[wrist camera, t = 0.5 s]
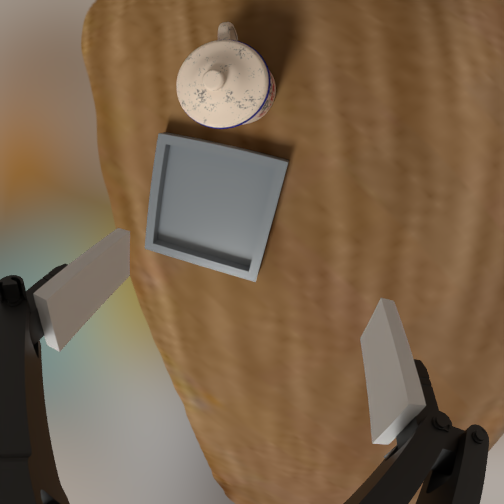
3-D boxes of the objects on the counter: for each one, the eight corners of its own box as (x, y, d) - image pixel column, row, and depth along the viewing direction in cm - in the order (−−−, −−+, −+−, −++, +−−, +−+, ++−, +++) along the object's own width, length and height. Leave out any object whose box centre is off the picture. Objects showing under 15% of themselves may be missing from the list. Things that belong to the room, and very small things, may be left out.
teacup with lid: (279, 125, 34) (268, 127, 24) (205, 128, 36) (165, 134, 25) (275, 32, 29) (262, -2, 19) (201, 39, 31) (161, 14, 21)
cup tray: (165, 132, 37) (158, 133, 35) (289, 160, 36) (288, 162, 34) (150, 243, 44) (144, 248, 42) (257, 274, 43) (255, 281, 41)
